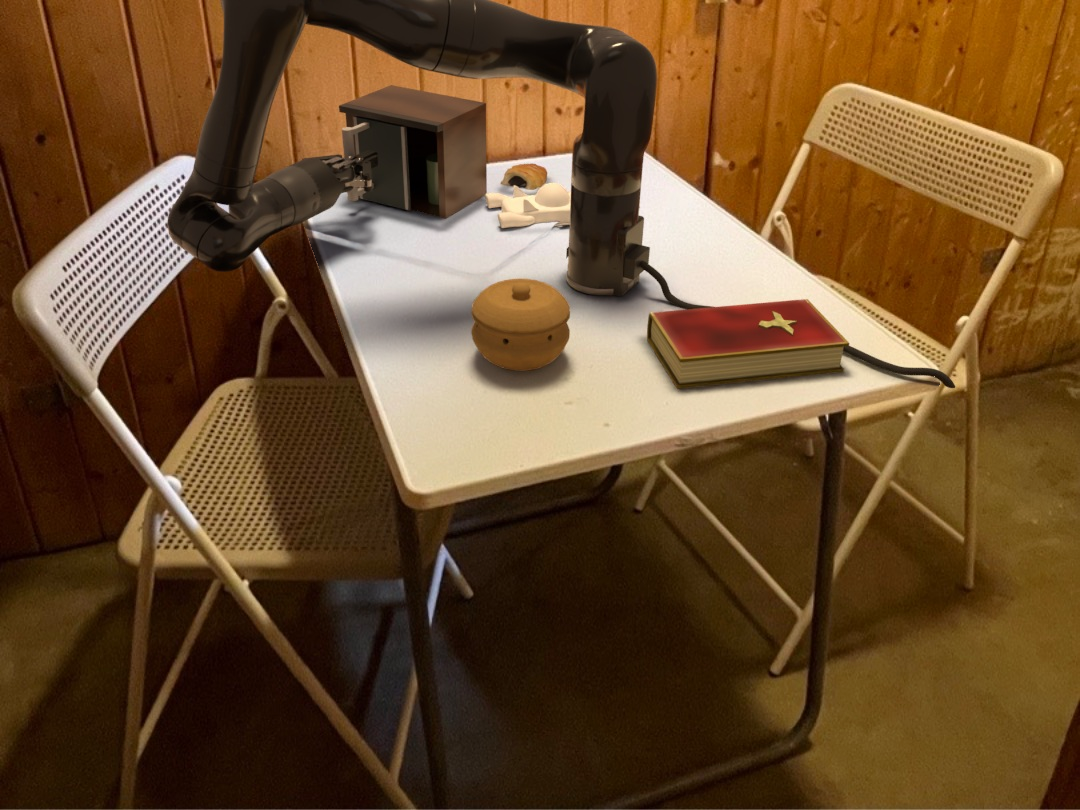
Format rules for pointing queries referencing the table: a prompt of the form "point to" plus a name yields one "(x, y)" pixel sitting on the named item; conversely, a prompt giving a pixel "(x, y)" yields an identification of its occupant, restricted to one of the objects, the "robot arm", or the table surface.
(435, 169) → the green jar
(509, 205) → the plane toy
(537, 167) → the pastry
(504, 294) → the pot
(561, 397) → the table surface
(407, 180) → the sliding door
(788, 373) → the hardcover book
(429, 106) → the cupboard
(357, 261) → the table surface
